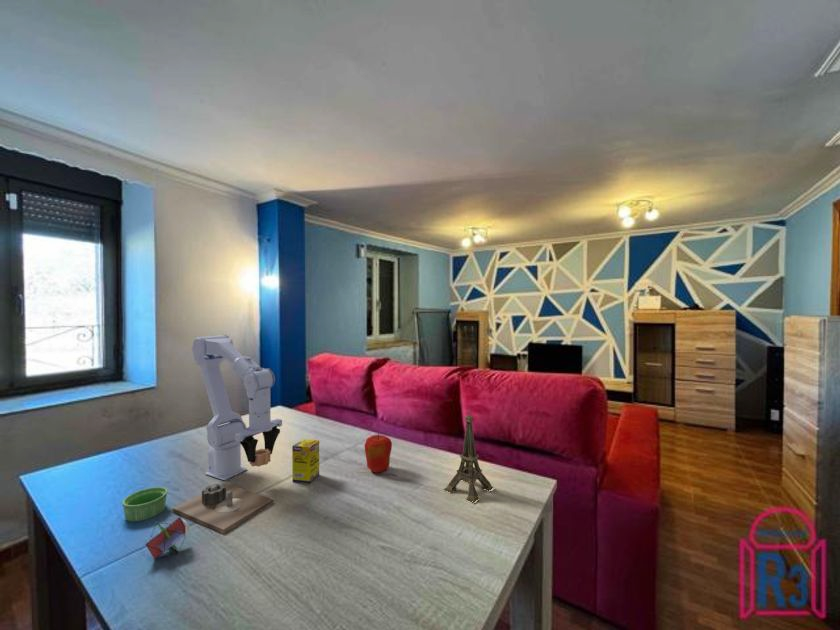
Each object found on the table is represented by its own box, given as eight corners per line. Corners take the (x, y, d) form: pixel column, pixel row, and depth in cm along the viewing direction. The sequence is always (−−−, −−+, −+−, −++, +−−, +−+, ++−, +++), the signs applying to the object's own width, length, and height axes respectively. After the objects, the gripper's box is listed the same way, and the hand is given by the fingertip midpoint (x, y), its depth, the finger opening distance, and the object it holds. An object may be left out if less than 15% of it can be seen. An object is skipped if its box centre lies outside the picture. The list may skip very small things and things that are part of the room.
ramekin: (117, 527, 82) (117, 509, 81) (128, 508, 90) (128, 491, 89) (164, 517, 86) (163, 499, 86) (170, 499, 94) (170, 483, 94)
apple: (359, 473, 108) (359, 435, 108) (373, 462, 116) (373, 427, 116) (384, 478, 105) (383, 439, 105) (396, 466, 112) (396, 430, 112)
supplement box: (310, 484, 101) (310, 447, 101) (291, 482, 103) (291, 445, 103) (320, 474, 107) (319, 439, 107) (302, 472, 109) (302, 438, 108)
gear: (245, 464, 99) (245, 454, 99) (261, 457, 104) (261, 447, 104) (258, 468, 97) (258, 457, 97) (274, 460, 102) (274, 450, 102)
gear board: (172, 511, 88) (172, 494, 88) (224, 486, 100) (224, 471, 100) (223, 533, 79) (223, 514, 79) (273, 502, 92) (273, 486, 91)
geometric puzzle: (144, 564, 67) (172, 519, 71) (130, 551, 70) (157, 508, 74) (178, 567, 72) (202, 524, 76) (163, 555, 75) (187, 514, 79)
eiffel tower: (443, 490, 98) (443, 403, 97) (465, 477, 105) (464, 396, 105) (474, 504, 91) (474, 410, 90) (495, 489, 98) (495, 402, 98)
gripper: (247, 420, 92) (247, 470, 92) (289, 406, 105) (289, 450, 106) (229, 417, 95) (230, 465, 96) (272, 404, 108) (273, 446, 109)
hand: (260, 457), depth 101 cm, fingers closed on gear, 5 cm apart
